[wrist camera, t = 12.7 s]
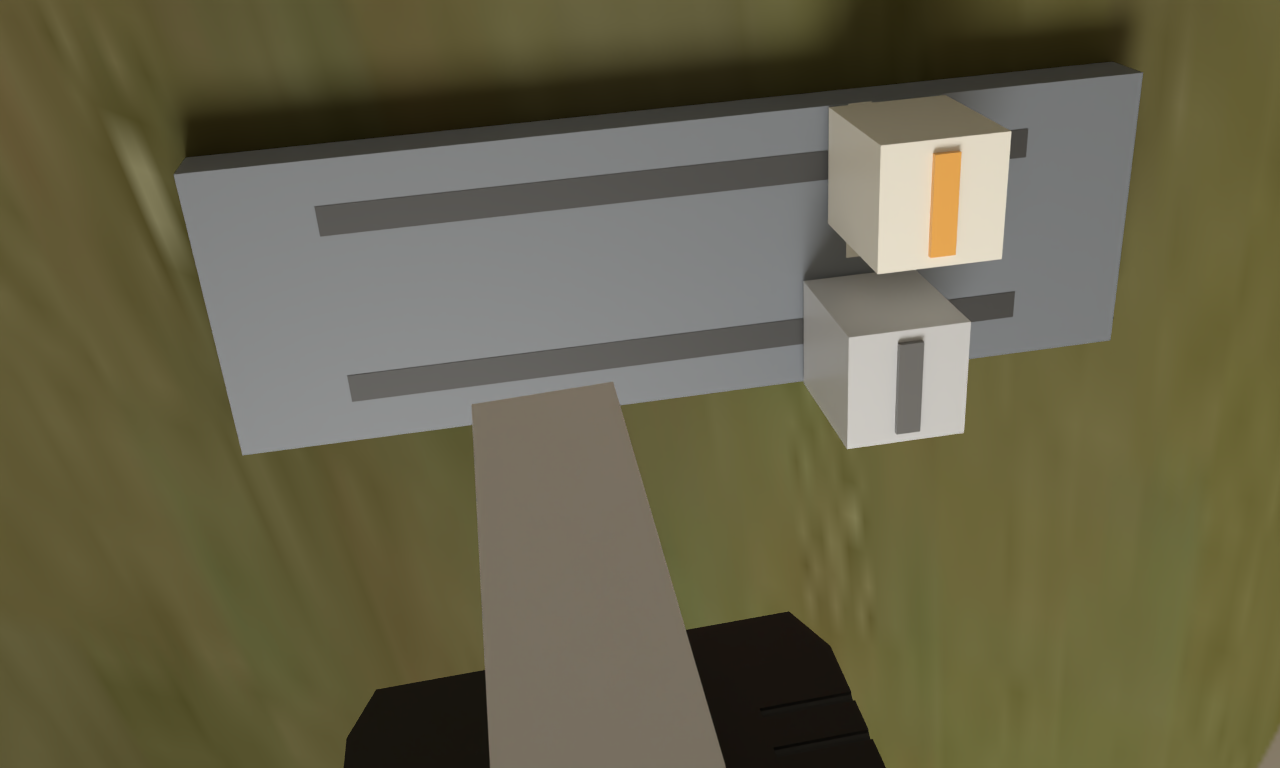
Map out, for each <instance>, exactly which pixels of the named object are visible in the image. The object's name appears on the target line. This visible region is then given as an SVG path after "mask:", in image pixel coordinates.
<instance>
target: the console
mask: <svg viewBox="0 0 1280 768" xmlns="http://www.w3.org/2000/svg"><path fill="white" fill-rule="evenodd" d="M1142 77H1143V72H1140V71H1137V70H1134V69H1132V68H1129V67H1126V66H1123V65H1121V64H1118V63H1115V62H1104V63H1094V64H1085V65H1075V66H1065V67H1056V68H1046V69H1036V70H1027V71H1017V72H1007V73H998V74H988V75H978V76H969V77H959V78H949V79H940V80H930V81H921V82H911V83H901V84H892V85H882V86H872V87H863V88H853V89H843V90H834V91H824V92H814V93H805V94H795V95H785V96H776V97H766V98H756V99H747V100H737V101H727V102H718V103H708V104H699V105H689V106H679V107H670V108H660V109H650V110H641V111H631V112H621V113H612V114H602V115H592V116H583V117H573V118H563V119H554V120H544V121H534V122H525V123H515V124H505V125H496V126H486V127H477V128H467V129H457V130H448V131H438V132H428V133H419V134H409V135H399V136H390V137H380V138H370V139H361V140H351V141H341V142H332V143H322V144H312V145H303V146H293V147H283V148H274V149H264V150H255V151H245V152H235V153H226V154H216V155H206V156H197V157H187V158H185V159H184V160H183V162H182V163H181V165H180V166H179V168H178V169H177V170H176V172H175V173H174V178H175V182H176V186H177V190H178V194H179V198H180V202H181V206H182V210H183V215H184V219H185V223H186V227H187V231H188V235H189V239H190V243H191V247H192V251H193V255H194V259H195V263H196V267H197V271H198V276H199V280H200V284H201V288H202V292H203V296H204V300H205V304H206V308H207V312H208V316H209V320H210V324H211V328H212V332H213V337H214V341H215V345H216V349H217V353H218V357H219V361H220V365H221V369H222V373H223V377H224V381H225V385H226V389H227V394H228V398H229V402H230V406H231V410H232V414H233V418H234V422H235V426H236V430H237V434H238V438H239V442H240V446H241V450H242V455H248V454H256V453H263V452H271V451H278V450H286V449H293V448H301V447H309V446H316V445H324V444H331V443H339V442H346V441H354V440H361V439H369V438H376V437H384V436H391V435H399V434H407V433H414V432H422V431H429V430H437V429H444V428H452V427H459V426H467V425H473V424H472V405H471V404H477V403H483V402H489V401H495V400H502V399H508V398H514V397H520V396H527V395H533V394H539V393H545V392H552V391H558V390H564V389H570V388H577V387H583V386H589V385H595V384H602V383H608V382H613V383H614V387H615V390H616V394H617V397H618V400H619V404H620V405H625V404H633V403H640V402H648V401H656V400H663V399H671V398H678V397H686V396H693V395H701V394H708V393H716V392H723V391H731V390H738V389H746V388H754V387H761V386H769V385H776V384H784V383H791V382H799V381H804V284H803V281H808V280H816V279H824V278H832V277H841V276H849V275H857V274H865V273H873V272H875V271H874V270H873V269H872V268H871V267H870V266H869V265H868V264H867V263H866V262H865V261H864V260H863V259H862V258H861V257H860V256H859V255H858V254H857V253H856V252H855V251H854V250H853V249H852V248H851V247H850V246H849V245H848V244H847V243H846V242H845V240H844V239H843V238H842V237H841V236H840V235H839V234H838V233H837V232H836V231H835V230H834V229H833V228H832V227H831V226H830V225H829V224H828V154H829V107H836V106H845V105H855V104H864V103H874V102H883V101H893V100H902V99H912V98H921V97H931V96H940V95H946V96H948V97H950V98H952V99H954V100H955V101H957V102H959V103H961V104H963V105H965V106H966V107H968V108H970V109H972V110H974V111H975V112H977V113H979V114H981V115H983V116H985V117H986V118H988V119H990V120H992V121H994V122H996V123H997V124H999V125H1001V126H1003V127H1005V128H1006V129H1008V130H1010V131H1011V144H1010V157H1009V171H1008V184H1007V197H1006V211H1005V224H1004V237H1003V250H1002V259H998V260H990V261H982V262H974V263H966V264H958V265H949V266H941V267H933V268H925V269H917V270H916V271H917V272H918V273H919V274H921V275H922V276H923V277H924V278H925V279H926V280H927V281H928V282H929V283H930V284H931V285H932V286H933V287H934V288H935V289H937V290H938V291H939V292H940V293H941V294H942V295H943V296H944V297H945V298H946V299H947V300H948V301H949V302H950V303H951V304H953V305H954V306H955V307H956V308H957V309H958V310H959V311H960V312H961V313H962V314H963V315H964V316H965V317H966V318H967V319H969V320H970V321H971V330H970V345H969V359H972V358H980V357H987V356H995V355H1003V354H1010V353H1018V352H1025V351H1033V350H1040V349H1048V348H1055V347H1063V346H1070V345H1078V344H1085V343H1093V342H1101V341H1108V340H1110V339H1111V330H1112V322H1113V314H1114V306H1115V298H1116V290H1117V281H1118V273H1119V265H1120V257H1121V249H1122V240H1123V232H1124V224H1125V216H1126V208H1127V200H1128V191H1129V183H1130V175H1131V167H1132V159H1133V151H1134V142H1135V134H1136V126H1137V118H1138V110H1139V102H1140V93H1141V85H1142Z"/></svg>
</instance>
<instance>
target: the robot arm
mask: <svg viewBox="0 0 1280 768" xmlns="http://www.w3.org/2000/svg"><path fill="white" fill-rule="evenodd" d="M471 405H472V424H473V444H474V463H475V483H476V502H477V522H478V541H479V560H480V580H481V599H482V619H483V638H484V658H485V670H483V671H477V672H472V673H466V674H461V675H455V676H449V677H444V678H438V679H433V680H427V681H422V682H416V683H411V684H405V685H399V686H394V687H388V688H383V689H377V690H376V691H375V692H374V694H373V696H372V697H371V699H370V701H369V702H368V704H367V706H366V707H365V709H364V711H363V712H362V714H361V716H360V717H359V719H358V721H357V722H356V724H355V726H354V727H353V729H352V731H351V732H350V734H349V735H348V737H347V741H346V751H345V761H344V768H886V767H885V765H884V763H883V761H882V758H881V756H880V754H879V752H878V750H877V747H876V745H875V743H874V741H873V739H870V736H869V732H868V728H867V725H866V723H865V721H864V719H863V717H862V715H861V712H860V710H859V708H858V706H857V704H856V701H853V699H852V696H851V690H850V688H849V686H848V684H847V682H846V679H845V677H844V675H843V673H842V671H841V668H840V666H839V664H838V662H837V660H836V658H835V655H834V653H833V651H832V649H831V647H830V645H828V644H827V643H826V642H825V641H824V640H822V639H821V638H820V637H819V636H818V635H816V634H815V633H814V632H813V631H812V630H811V629H809V628H808V627H807V626H806V625H805V624H803V623H802V622H801V621H800V620H799V619H797V618H796V617H795V616H794V615H793V614H791V613H790V612H784V613H778V614H773V615H767V616H761V617H756V618H750V619H745V620H739V621H734V622H728V623H722V624H717V625H711V626H706V627H700V628H695V629H689V630H686V629H685V626H684V623H683V619H682V616H681V612H680V609H679V605H678V602H677V599H676V595H675V592H674V588H673V585H672V582H671V578H670V575H669V571H668V568H667V564H666V561H665V558H664V554H663V551H662V547H661V544H660V540H659V537H658V534H657V530H656V527H655V523H654V520H653V517H652V513H651V510H650V506H649V503H648V499H647V496H646V493H645V489H644V486H643V482H642V479H641V476H640V472H639V469H638V465H637V462H636V458H635V455H634V452H633V448H632V445H631V441H630V438H629V435H628V431H627V428H626V424H625V421H624V417H623V414H622V411H621V407H620V404H619V400H618V397H617V394H616V390H615V387H614V383H613V382H608V383H602V384H595V385H589V386H583V387H577V388H570V389H564V390H558V391H552V392H545V393H539V394H533V395H527V396H520V397H514V398H508V399H502V400H495V401H489V402H483V403H477V404H471Z"/></svg>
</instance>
